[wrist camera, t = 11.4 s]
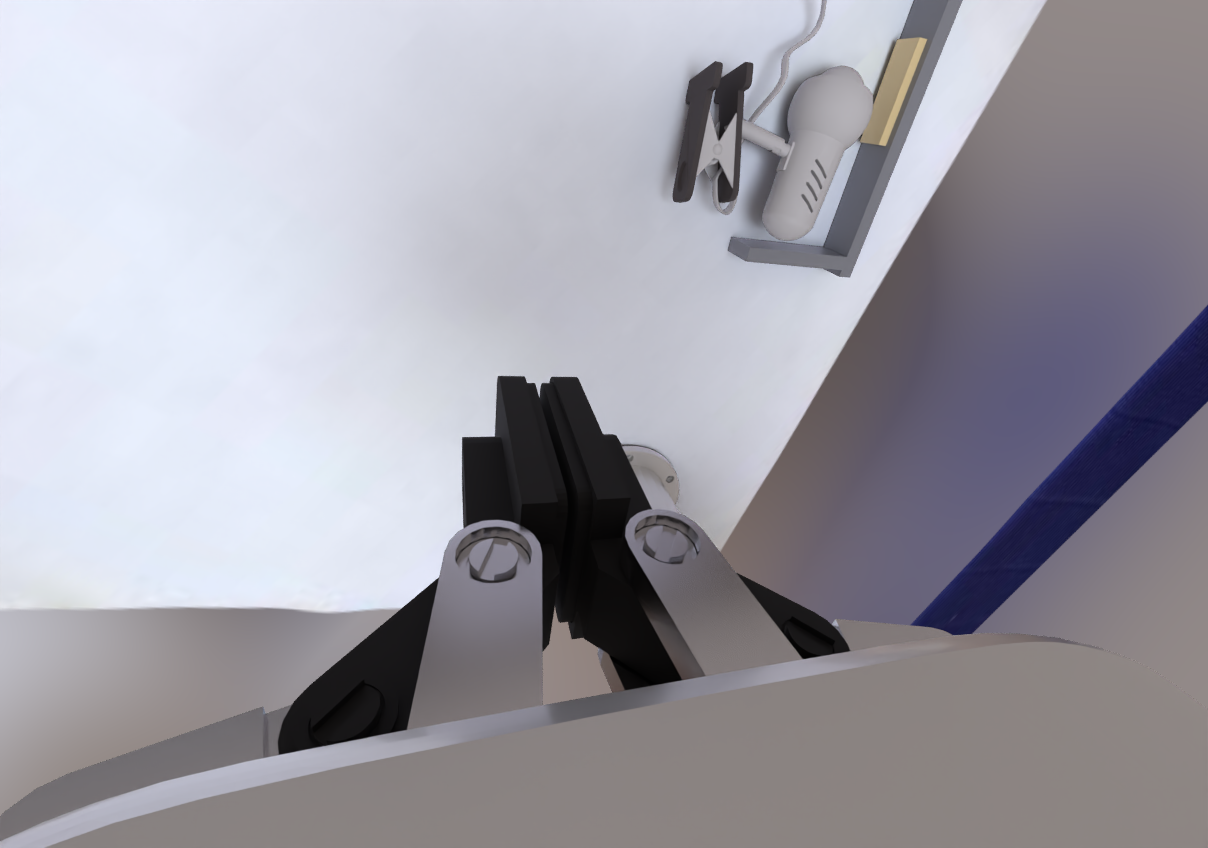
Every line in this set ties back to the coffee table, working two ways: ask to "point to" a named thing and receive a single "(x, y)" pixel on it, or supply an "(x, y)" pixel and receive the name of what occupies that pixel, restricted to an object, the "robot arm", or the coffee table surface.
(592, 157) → the coffee table surface
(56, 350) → the coffee table surface
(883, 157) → the grey u-shaped handle
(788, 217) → the clip-on lamp
